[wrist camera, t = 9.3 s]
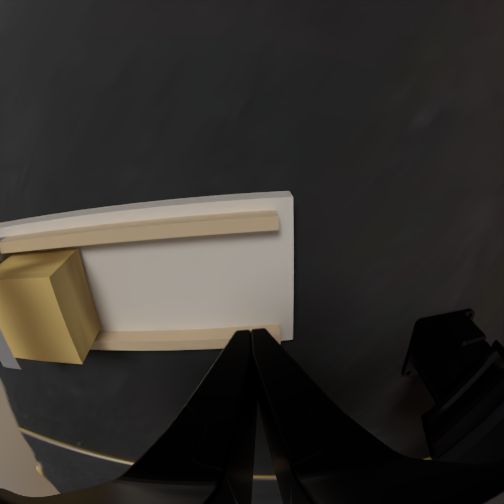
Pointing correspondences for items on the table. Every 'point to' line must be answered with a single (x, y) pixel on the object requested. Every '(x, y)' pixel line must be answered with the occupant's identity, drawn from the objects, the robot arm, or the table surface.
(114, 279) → the track
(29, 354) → the block
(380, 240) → the table surface
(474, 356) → the robot arm
